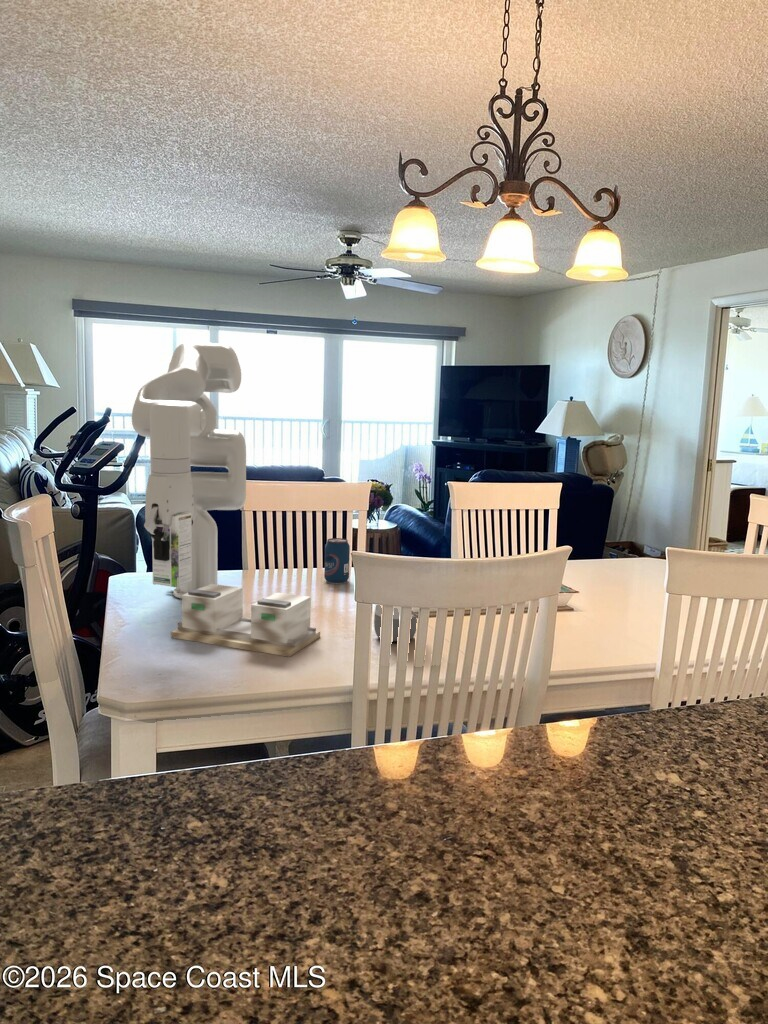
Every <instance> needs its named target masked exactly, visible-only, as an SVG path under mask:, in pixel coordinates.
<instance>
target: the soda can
mask: <svg viewBox="0 0 768 1024" xmlns="http://www.w3.org/2000/svg"><path fill="white" fill-rule="evenodd" d="M348 541H349V540H348V539H346V538H341V537H339V538H338V537H335V538H334V537H332V538H328V539H327V541H326V544H324V579H325V581H326V583H328V584H332V585H341V584H346V583H347V582H348V580H349V579H350V555H351V553H350V550H351V549H350V548H351V546H350V544H349V542H348Z"/></svg>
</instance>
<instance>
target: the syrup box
mask: <svg viewBox="0 0 768 1024" xmlns="http://www.w3.org/2000/svg"><path fill="white" fill-rule="evenodd" d="M159 524H162V522H160V521H159ZM159 530H160V531H161V532H162V531H163V528H159ZM151 541H152V543H151V545H152V584H153V585H157V586H158V585H159V586H166V587H171V588H176V587H178V586H181V585H183V584H185V583H188V582H190V581H192V514H191V512H184V513H180V514H176V515H174V516H173V518H172V525H170V526H169V531H168V536H167V541H169V560H168V561H162V560H155V559H154V540H152V539H151Z"/></svg>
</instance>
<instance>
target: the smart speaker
mask: <svg viewBox="0 0 768 1024" xmlns="http://www.w3.org/2000/svg"><path fill="white" fill-rule="evenodd" d="M381 614H382V608H381V606H380V605H376V604H375V609H374V617H373V619H374V620H373V628H374V632H375V634H376V636H377V638H379V636H380V627H381ZM416 623H417V624H418V618H417V619H416V617H415V616H412V619H411V629H410V640H412V639H413V638H414V637H415V634H416V633H417V629H416ZM398 627H399V612H398V609H397V608H394V615H393V644H394V643H395V644H397V637H398Z"/></svg>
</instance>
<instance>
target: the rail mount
mask: <svg viewBox="0 0 768 1024" xmlns="http://www.w3.org/2000/svg"><path fill="white" fill-rule="evenodd" d="M243 589H244V588H243V587H238V586H233V585H232V586H230V585H223V584H217V585H216V584H210V585H207V586H205V587H202V588H199V589H194V590H191V591H189V592H188V593H186V594H184V595H182V599H181V621H177V624H176V625H177V629H175V630H172V631H171V632H170V634H171V635H170V638H174V639H177V640H178V639H179V640H185V641H192V642H198V643H203V644H209V645H210V644H211V645H216V646H221V647H227V648H234V649H240V650H247V651H253V652H259V653H263V654H264V653H265V654H270V655H277V656H284V657H293V655H295V654H297V653H298V652H299V651H301V650H303V649H304V648H306V647H308V645H310V644H311V643H313V642H314V641H316V640H318V639H319V638H320V637H321V631H320V630H317V628H316V627H313V626H311V606H312V605H311V600H312V599H311V598H312V597H311V596H307V595H298V594H293V593H292V594H291V593H285V592H278V591H277V592H275V593H273V594H272V595H271V594H270V595H268V596H266V597H264V598H261V599H259V600H256V602H254V603H252V604H251V605H250V617H245V616H244V617H243V615H244V614H243V612H244V611H243V604H244V601H243V600H244V599H243V595H244V594H243V591H244V590H243Z"/></svg>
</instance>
